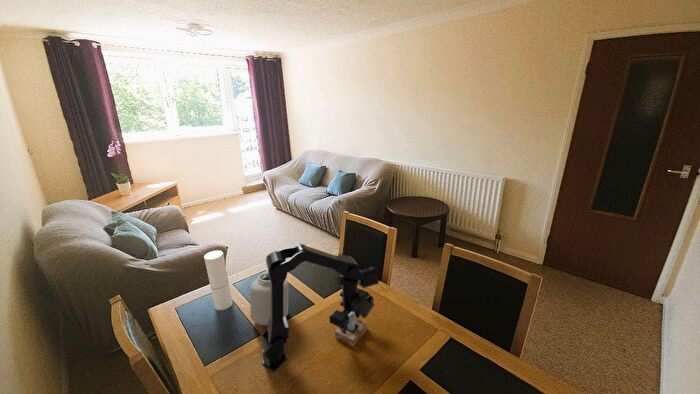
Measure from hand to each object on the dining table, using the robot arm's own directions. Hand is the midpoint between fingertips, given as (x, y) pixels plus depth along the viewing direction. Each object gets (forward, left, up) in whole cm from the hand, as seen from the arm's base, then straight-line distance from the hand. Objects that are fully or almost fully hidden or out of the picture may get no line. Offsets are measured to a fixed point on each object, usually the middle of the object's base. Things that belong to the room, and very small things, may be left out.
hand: (351, 325), depth 106 cm
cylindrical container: (-16, +57, -4) cm, 59 cm away
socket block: (0, 0, -4) cm, 4 cm away
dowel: (0, 0, -4) cm, 4 cm away
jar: (-9, +33, -4) cm, 34 cm away
